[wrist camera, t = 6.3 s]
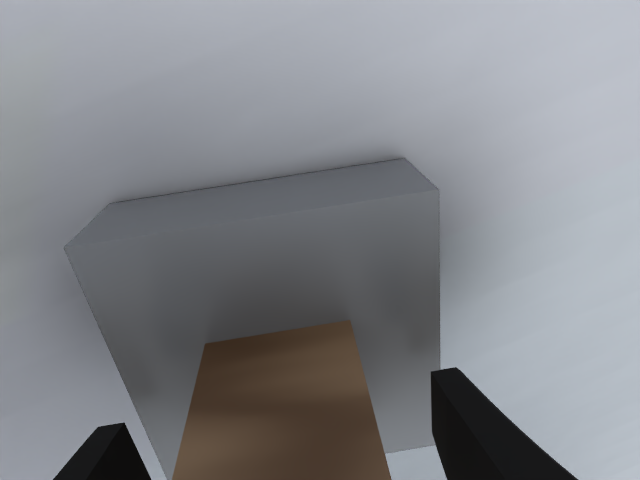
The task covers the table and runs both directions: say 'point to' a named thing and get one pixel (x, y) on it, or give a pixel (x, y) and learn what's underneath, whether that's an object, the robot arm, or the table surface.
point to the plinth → (271, 285)
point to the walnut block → (282, 410)
